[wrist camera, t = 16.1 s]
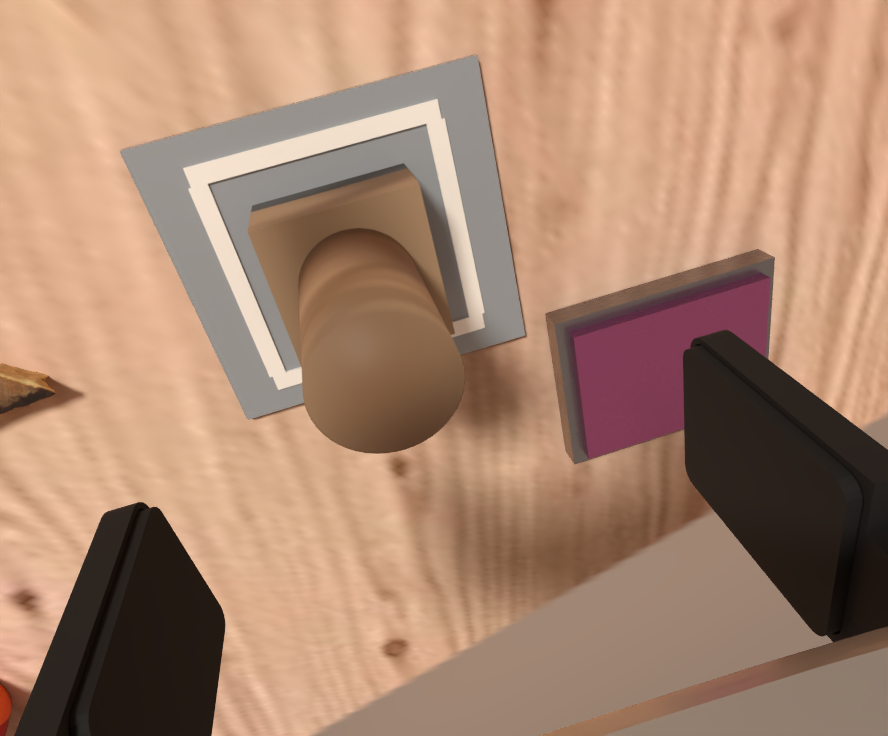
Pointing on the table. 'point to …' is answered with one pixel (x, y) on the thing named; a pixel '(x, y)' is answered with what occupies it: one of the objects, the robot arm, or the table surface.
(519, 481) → the table surface
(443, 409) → the stamp
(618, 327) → the ink pad
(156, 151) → the marked card
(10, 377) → the shard
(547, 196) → the table surface
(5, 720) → the paper cup
